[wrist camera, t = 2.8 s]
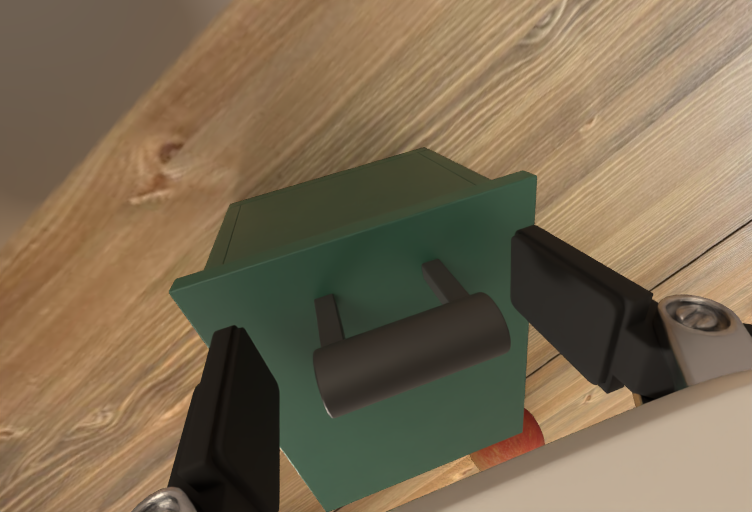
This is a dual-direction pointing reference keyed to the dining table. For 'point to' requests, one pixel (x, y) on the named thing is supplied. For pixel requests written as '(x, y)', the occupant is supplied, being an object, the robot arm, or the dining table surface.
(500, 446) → the apple
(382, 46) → the dining table surface
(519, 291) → the robot arm
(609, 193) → the dining table surface
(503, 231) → the lid
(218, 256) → the chest
